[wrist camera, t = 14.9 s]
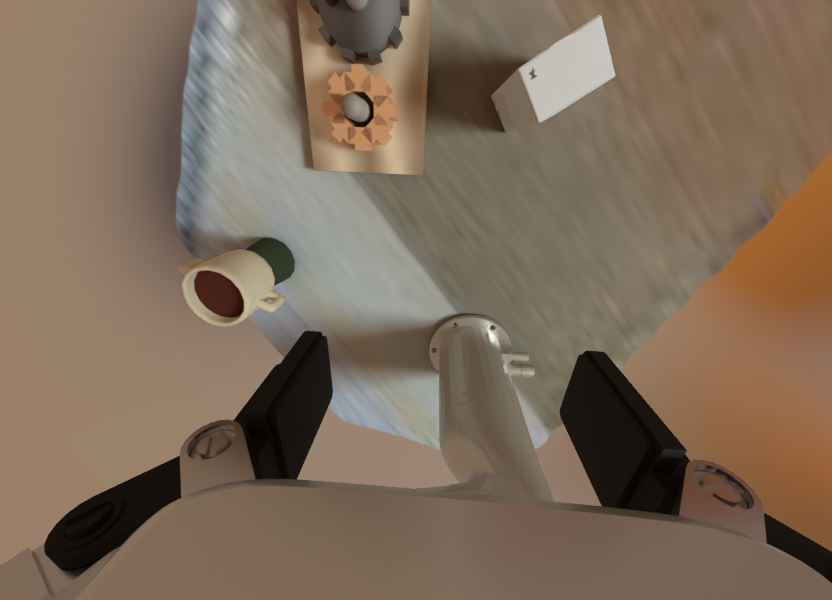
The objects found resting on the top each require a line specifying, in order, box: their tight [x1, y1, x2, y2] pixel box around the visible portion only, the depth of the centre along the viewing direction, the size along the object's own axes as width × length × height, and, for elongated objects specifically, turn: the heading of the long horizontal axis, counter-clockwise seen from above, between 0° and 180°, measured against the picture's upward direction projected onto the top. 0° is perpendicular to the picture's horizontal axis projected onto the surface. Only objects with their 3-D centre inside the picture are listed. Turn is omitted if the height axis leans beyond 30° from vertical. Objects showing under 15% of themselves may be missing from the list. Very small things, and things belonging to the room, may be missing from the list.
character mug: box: [177, 239, 295, 327], centre depth 37 cm, size 11×7×13 cm, turn 63°
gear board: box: [296, 0, 432, 175], centre depth 28 cm, size 13×20×8 cm, turn 178°
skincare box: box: [491, 15, 615, 133], centre depth 27 cm, size 6×4×12 cm
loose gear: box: [322, 64, 399, 151], centre depth 31 cm, size 7×7×4 cm
